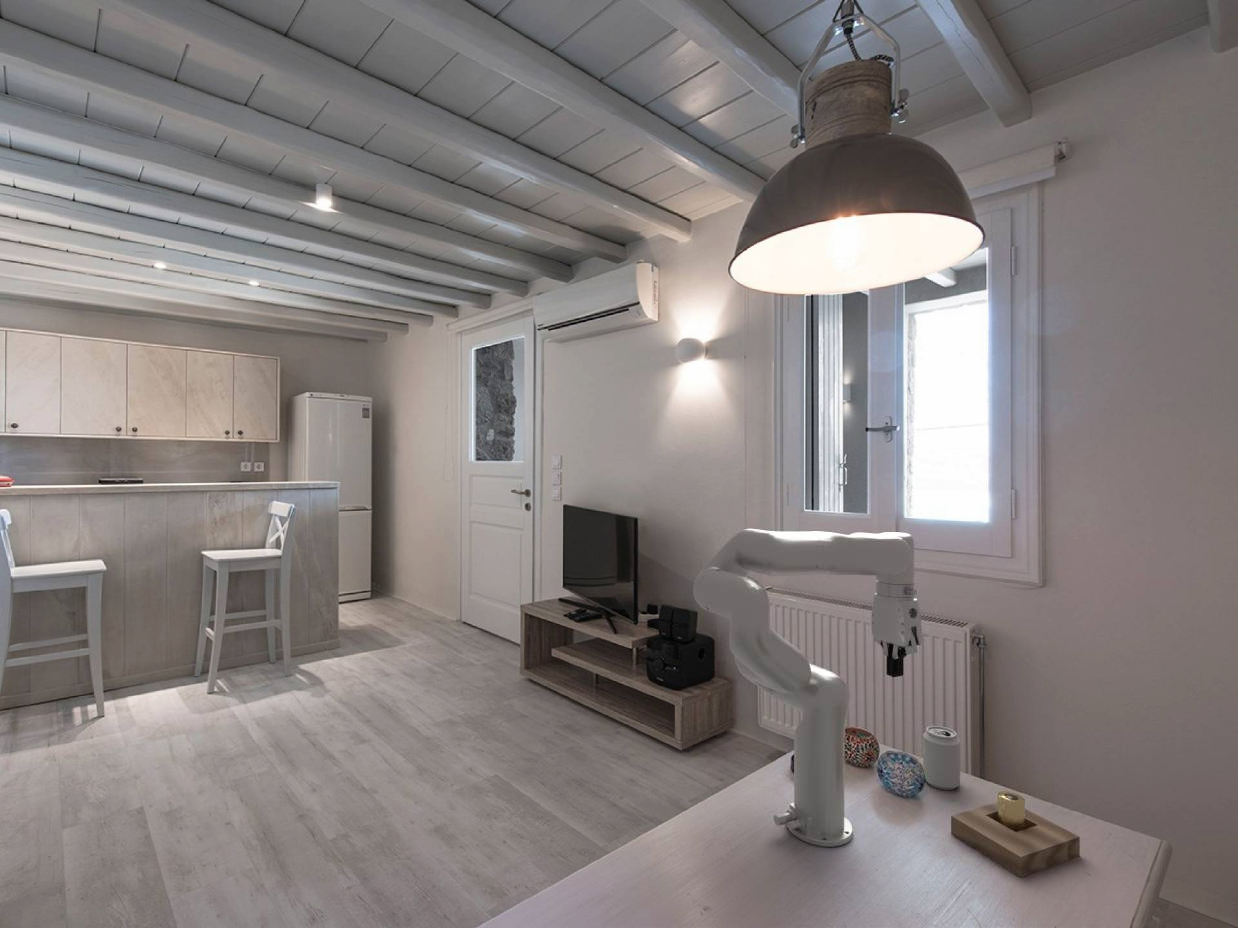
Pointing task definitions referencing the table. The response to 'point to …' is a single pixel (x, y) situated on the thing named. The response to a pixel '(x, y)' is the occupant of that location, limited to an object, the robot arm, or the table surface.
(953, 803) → the table surface
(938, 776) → the can
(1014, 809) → the bushing
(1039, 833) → the block
